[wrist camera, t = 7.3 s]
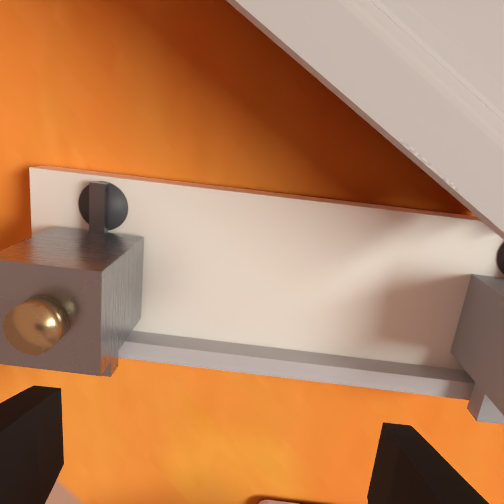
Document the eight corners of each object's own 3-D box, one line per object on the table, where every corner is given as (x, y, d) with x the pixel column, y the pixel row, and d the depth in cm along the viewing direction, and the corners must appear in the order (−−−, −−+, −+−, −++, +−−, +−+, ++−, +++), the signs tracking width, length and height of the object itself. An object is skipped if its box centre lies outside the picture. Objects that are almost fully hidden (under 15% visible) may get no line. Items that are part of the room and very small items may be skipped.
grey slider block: (146, 187, 16) (90, 211, 11) (139, 354, 18) (90, 439, 13) (55, 176, 16) (-42, 195, 11) (58, 345, 18) (-22, 425, 13)
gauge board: (561, 226, 17) (693, 267, 12) (507, 389, 20) (598, 486, 14) (45, 165, 17) (-55, 178, 12) (49, 334, 20) (-34, 409, 14)
